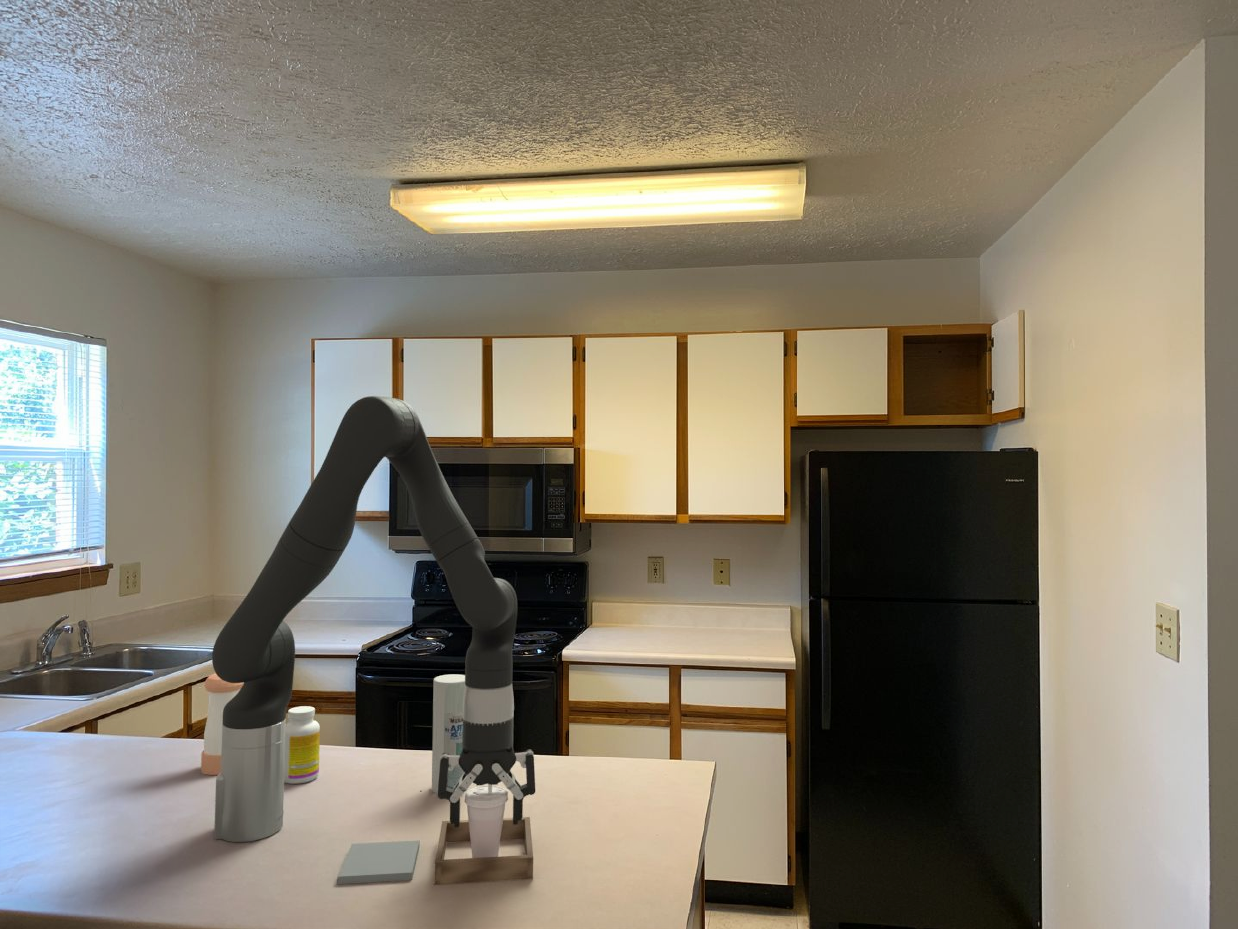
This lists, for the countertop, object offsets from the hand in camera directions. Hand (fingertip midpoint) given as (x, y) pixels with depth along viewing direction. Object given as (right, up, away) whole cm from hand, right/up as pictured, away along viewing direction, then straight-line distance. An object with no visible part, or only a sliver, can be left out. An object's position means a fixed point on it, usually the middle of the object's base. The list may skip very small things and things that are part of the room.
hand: (486, 824), depth 115 cm
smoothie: (0, -5, 0) cm, 5 cm away
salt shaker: (-57, -6, +35) cm, 67 cm away
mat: (-15, -5, -2) cm, 16 cm away
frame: (0, -5, 0) cm, 5 cm away
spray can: (-11, -6, +27) cm, 29 cm away
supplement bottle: (-40, -6, +30) cm, 51 cm away
